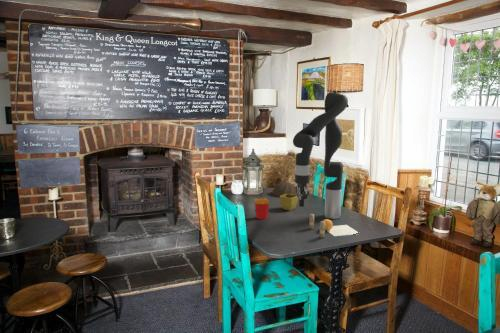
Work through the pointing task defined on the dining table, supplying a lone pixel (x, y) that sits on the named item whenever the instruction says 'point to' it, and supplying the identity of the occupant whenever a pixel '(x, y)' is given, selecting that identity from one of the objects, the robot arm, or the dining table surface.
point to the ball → (328, 224)
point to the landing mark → (342, 230)
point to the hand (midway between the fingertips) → (301, 206)
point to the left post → (311, 221)
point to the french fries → (261, 208)
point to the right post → (322, 229)
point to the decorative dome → (284, 189)
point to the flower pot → (288, 201)
